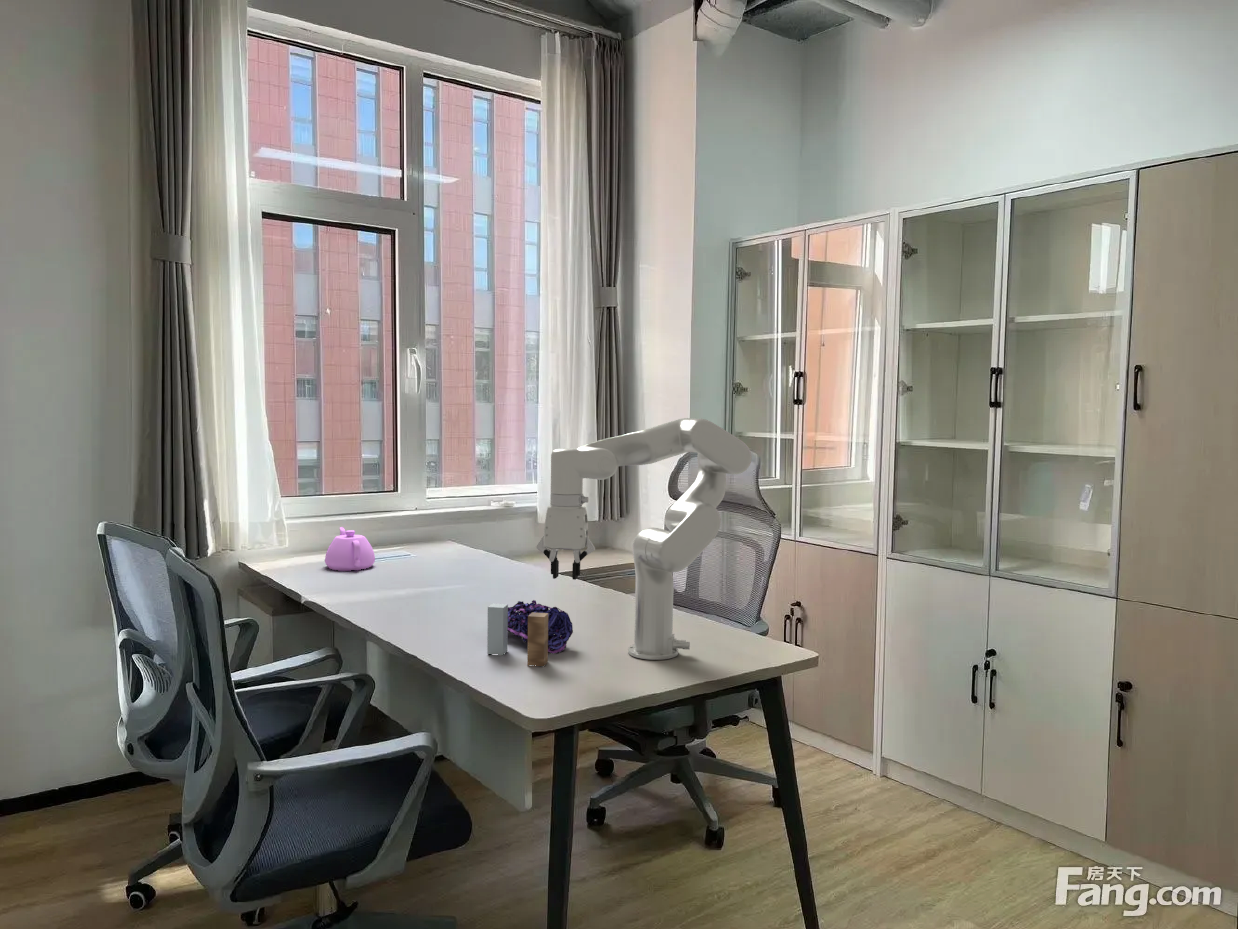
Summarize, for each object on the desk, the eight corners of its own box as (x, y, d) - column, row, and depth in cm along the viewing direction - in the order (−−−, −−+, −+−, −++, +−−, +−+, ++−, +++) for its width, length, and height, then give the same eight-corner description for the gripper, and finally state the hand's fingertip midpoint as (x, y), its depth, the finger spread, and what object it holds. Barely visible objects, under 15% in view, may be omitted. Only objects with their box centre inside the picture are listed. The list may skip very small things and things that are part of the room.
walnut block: (547, 662, 221) (548, 613, 220) (543, 667, 217) (544, 617, 216) (531, 661, 222) (532, 612, 221) (527, 666, 218) (527, 616, 217)
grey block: (507, 651, 230) (507, 604, 229) (503, 655, 226) (503, 607, 225) (492, 650, 230) (492, 603, 229) (487, 654, 226) (487, 607, 225)
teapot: (383, 570, 333) (383, 533, 332) (333, 574, 324) (333, 536, 323) (363, 559, 354) (363, 524, 353) (316, 563, 345) (316, 527, 344)
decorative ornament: (532, 629, 224) (474, 603, 248) (541, 668, 226) (483, 638, 250) (576, 608, 231) (516, 584, 255) (584, 645, 234) (524, 618, 257)
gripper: (604, 500, 218) (603, 576, 219) (535, 498, 220) (534, 573, 222) (598, 504, 210) (597, 583, 212) (527, 501, 213) (526, 579, 214)
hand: (565, 577), depth 217 cm, fingers open, 4 cm apart
